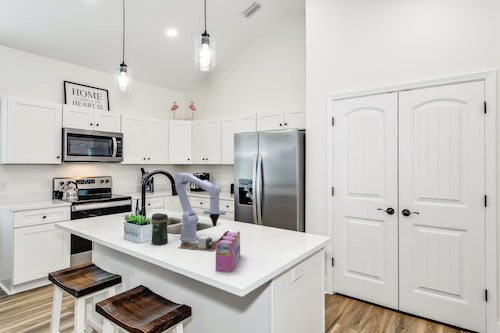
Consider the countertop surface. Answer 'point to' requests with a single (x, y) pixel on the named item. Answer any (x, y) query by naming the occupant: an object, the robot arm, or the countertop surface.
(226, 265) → the gum box
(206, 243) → the nut
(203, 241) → the sleeve
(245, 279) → the countertop surface
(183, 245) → the pipe stand
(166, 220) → the coffee jar
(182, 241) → the pipe
